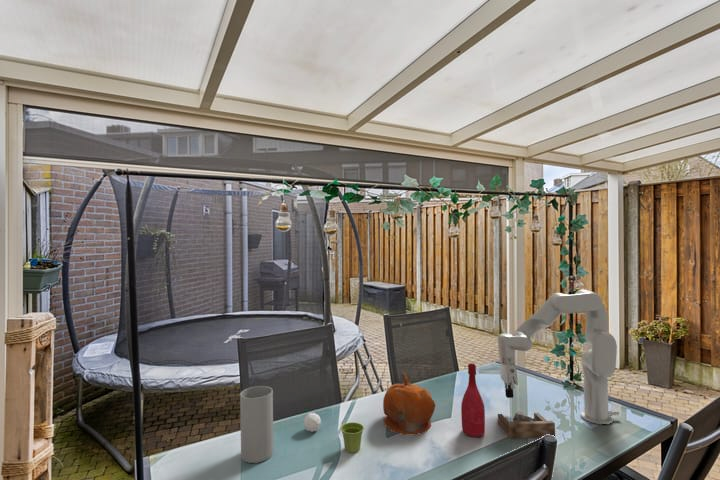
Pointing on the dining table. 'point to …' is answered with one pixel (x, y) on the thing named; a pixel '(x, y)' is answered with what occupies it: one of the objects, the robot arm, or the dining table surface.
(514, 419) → the caster wheel
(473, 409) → the wine bottle
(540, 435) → the brown wooden frame
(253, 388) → the cylinder vase
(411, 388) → the pumpkin
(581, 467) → the dining table surface
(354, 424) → the plant pot
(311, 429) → the geometric ball
